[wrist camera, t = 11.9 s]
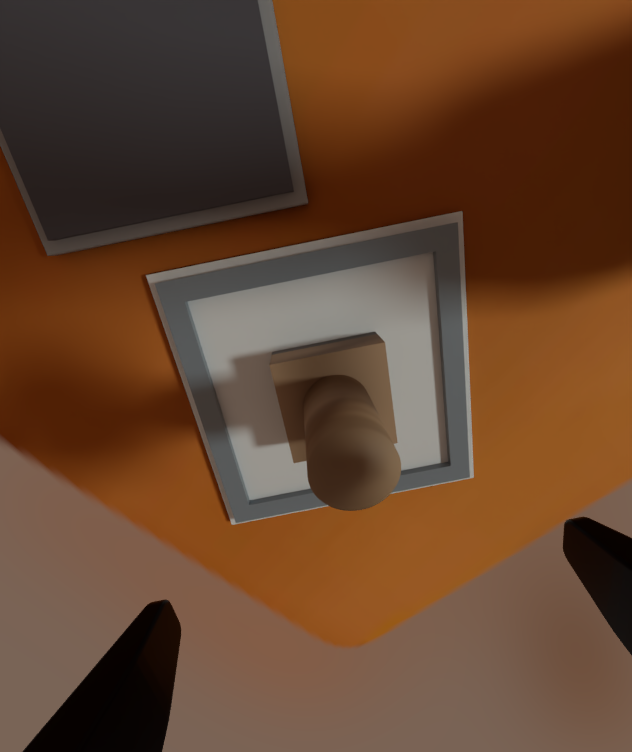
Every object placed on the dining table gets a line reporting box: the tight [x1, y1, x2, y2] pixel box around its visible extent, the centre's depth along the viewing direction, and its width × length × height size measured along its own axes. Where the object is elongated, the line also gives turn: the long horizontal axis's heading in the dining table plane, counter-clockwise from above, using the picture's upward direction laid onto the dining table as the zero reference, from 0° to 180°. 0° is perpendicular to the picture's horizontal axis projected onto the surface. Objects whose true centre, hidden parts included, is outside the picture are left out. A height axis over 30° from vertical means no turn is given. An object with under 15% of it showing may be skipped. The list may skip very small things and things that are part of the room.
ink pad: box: [0, 0, 308, 256], centre depth 13 cm, size 11×11×1 cm
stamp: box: [269, 332, 401, 511], centre depth 15 cm, size 5×5×7 cm
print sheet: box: [146, 211, 474, 525], centre depth 18 cm, size 14×14×1 cm
